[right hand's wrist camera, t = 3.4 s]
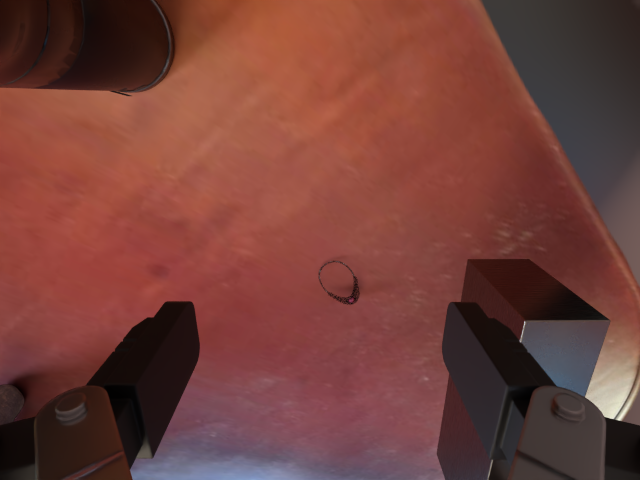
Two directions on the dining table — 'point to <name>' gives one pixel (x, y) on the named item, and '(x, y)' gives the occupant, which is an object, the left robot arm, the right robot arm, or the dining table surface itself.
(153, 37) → the right robot arm
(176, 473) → the dining table surface
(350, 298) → the necklace
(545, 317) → the box
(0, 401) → the pipe
